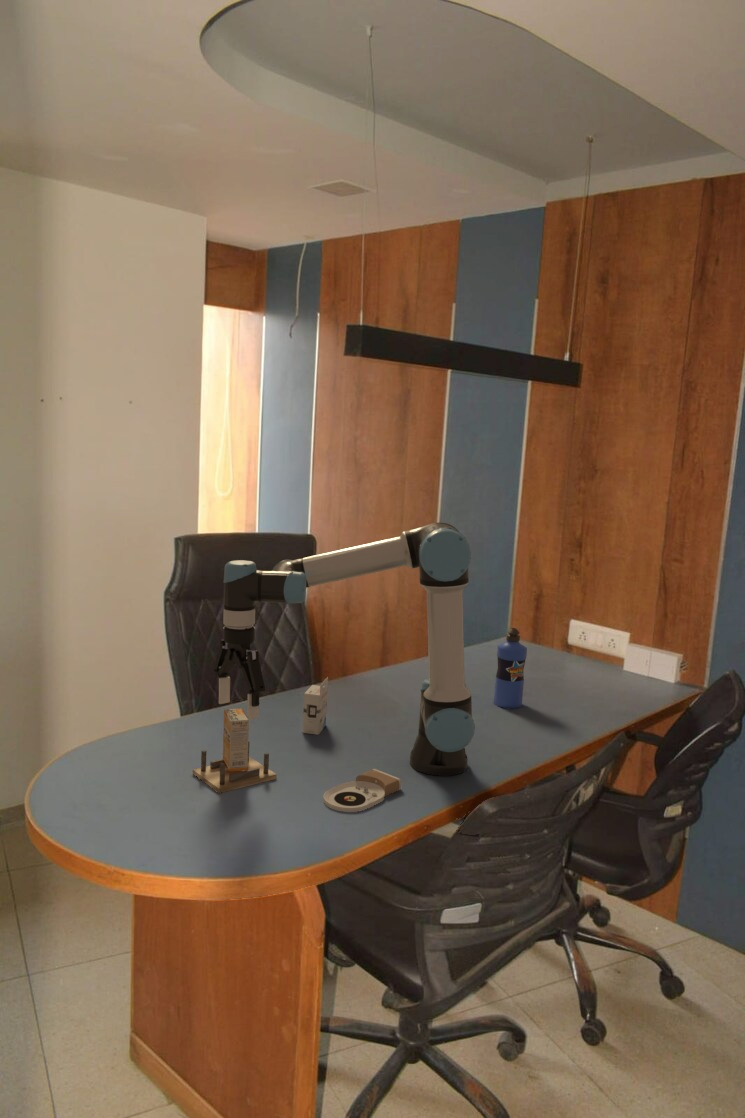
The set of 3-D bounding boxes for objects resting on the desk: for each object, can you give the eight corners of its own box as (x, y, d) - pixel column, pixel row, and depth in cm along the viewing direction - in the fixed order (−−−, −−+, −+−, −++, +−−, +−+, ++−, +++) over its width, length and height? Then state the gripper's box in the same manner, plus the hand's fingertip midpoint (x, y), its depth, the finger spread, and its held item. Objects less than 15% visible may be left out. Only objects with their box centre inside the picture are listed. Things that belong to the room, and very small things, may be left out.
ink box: (310, 723, 259) (312, 674, 256) (326, 725, 258) (328, 676, 255) (301, 733, 250) (304, 682, 248) (318, 735, 249) (321, 684, 247)
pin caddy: (276, 778, 219) (277, 754, 218) (218, 793, 208) (219, 768, 207) (248, 761, 228) (249, 738, 227) (192, 774, 218) (193, 750, 217)
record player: (405, 780, 215) (350, 806, 200) (404, 792, 216) (349, 819, 201) (369, 766, 222) (313, 790, 207) (368, 778, 223) (312, 802, 208)
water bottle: (527, 707, 284) (534, 631, 279) (502, 709, 280) (508, 632, 276) (512, 698, 292) (518, 624, 288) (487, 700, 289) (493, 625, 285)
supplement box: (221, 759, 221) (223, 709, 219) (240, 757, 223) (242, 707, 220) (228, 772, 213) (229, 720, 211) (248, 770, 215) (249, 719, 213)
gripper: (281, 634, 205) (279, 722, 209) (226, 613, 224) (226, 694, 228) (253, 638, 200) (251, 728, 204) (200, 616, 219) (199, 699, 223)
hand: (238, 710), depth 216 cm, fingers open, 13 cm apart
